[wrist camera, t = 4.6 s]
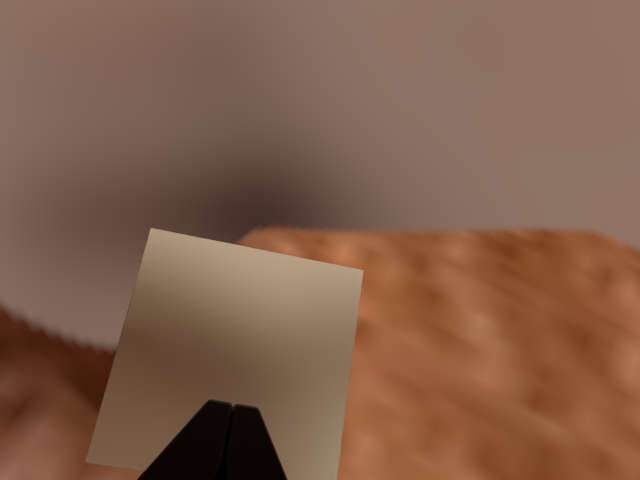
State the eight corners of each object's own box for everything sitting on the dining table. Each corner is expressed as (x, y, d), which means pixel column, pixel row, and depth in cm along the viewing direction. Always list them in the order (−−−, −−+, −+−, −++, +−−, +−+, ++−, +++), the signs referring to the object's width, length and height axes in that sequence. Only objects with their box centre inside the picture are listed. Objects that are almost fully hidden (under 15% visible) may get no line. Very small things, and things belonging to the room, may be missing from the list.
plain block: (288, 474, 19) (334, 500, 11) (139, 451, 18) (85, 462, 11) (311, 330, 21) (363, 270, 13) (175, 304, 20) (150, 227, 13)
